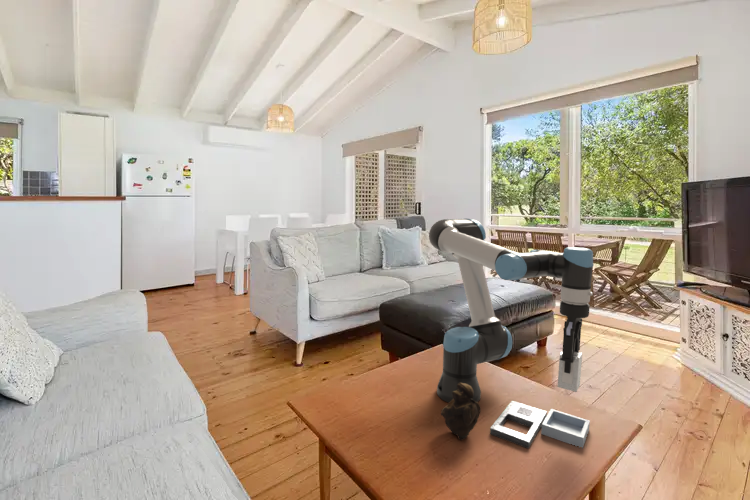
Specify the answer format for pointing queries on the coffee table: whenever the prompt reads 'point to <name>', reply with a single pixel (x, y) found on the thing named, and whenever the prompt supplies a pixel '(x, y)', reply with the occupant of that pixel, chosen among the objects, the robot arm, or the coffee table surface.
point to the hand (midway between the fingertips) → (569, 378)
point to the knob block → (576, 373)
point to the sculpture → (461, 411)
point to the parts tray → (565, 427)
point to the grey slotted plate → (522, 416)
